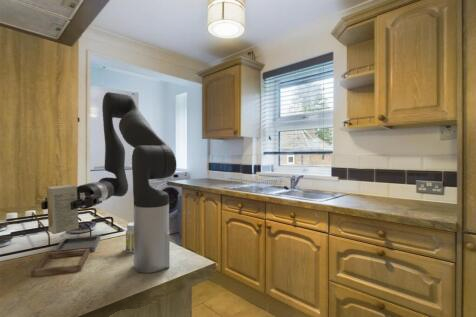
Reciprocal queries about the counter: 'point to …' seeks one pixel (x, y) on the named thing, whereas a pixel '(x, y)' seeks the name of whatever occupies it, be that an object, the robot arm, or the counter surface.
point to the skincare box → (62, 208)
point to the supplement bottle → (130, 237)
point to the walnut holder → (42, 271)
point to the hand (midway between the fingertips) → (57, 205)
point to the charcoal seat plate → (78, 243)
